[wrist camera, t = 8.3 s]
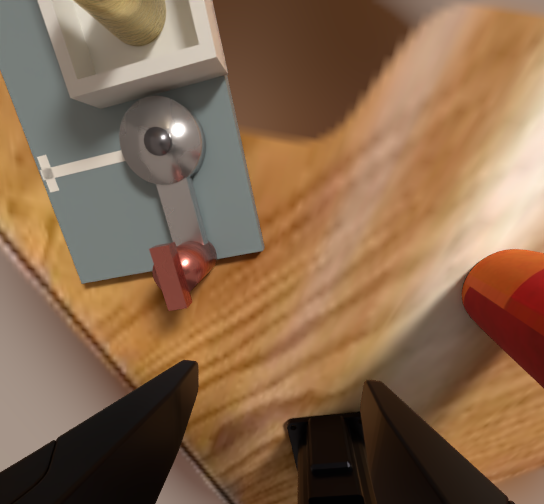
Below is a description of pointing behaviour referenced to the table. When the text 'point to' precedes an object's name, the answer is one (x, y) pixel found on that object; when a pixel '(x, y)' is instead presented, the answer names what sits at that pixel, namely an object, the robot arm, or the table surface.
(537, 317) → the coffee cup
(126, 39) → the pin
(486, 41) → the table surface
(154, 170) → the crank
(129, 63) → the tray
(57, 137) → the board
